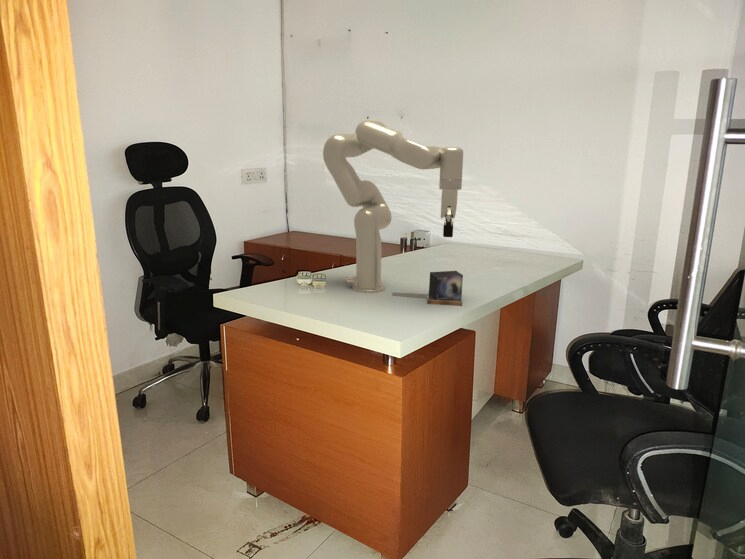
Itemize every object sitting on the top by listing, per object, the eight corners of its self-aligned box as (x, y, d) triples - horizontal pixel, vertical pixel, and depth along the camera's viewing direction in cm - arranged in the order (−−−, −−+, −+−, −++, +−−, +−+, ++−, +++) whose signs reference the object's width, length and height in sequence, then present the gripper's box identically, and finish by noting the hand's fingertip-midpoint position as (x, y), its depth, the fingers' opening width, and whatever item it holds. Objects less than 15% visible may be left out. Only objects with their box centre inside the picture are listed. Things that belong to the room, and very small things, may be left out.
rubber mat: (389, 302, 185) (389, 301, 184) (392, 293, 195) (392, 292, 195) (425, 304, 183) (426, 303, 182) (427, 295, 193) (427, 294, 193)
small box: (434, 305, 183) (435, 276, 180) (427, 299, 189) (428, 271, 186) (462, 302, 185) (463, 274, 183) (454, 297, 191) (456, 270, 189)
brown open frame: (427, 306, 181) (427, 300, 181) (429, 294, 194) (429, 289, 194) (461, 308, 179) (462, 302, 179) (461, 296, 193) (461, 291, 192)
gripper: (440, 182, 185) (438, 230, 189) (438, 186, 169) (436, 238, 173) (461, 183, 184) (458, 230, 188) (461, 187, 167) (459, 239, 172)
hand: (448, 234), depth 181 cm, fingers open, 9 cm apart
